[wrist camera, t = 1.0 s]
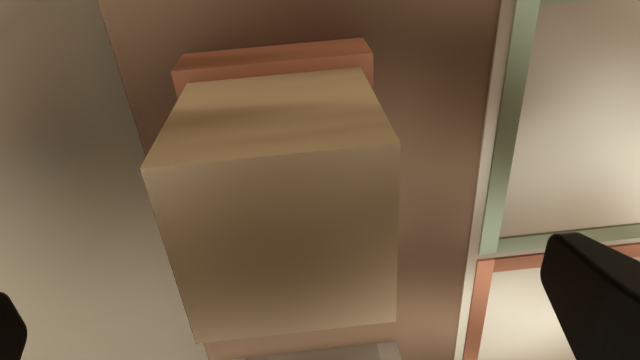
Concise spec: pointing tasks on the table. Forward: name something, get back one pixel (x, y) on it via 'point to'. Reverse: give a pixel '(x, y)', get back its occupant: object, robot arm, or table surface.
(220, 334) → the light wood block
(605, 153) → the picture board
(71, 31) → the table surface
